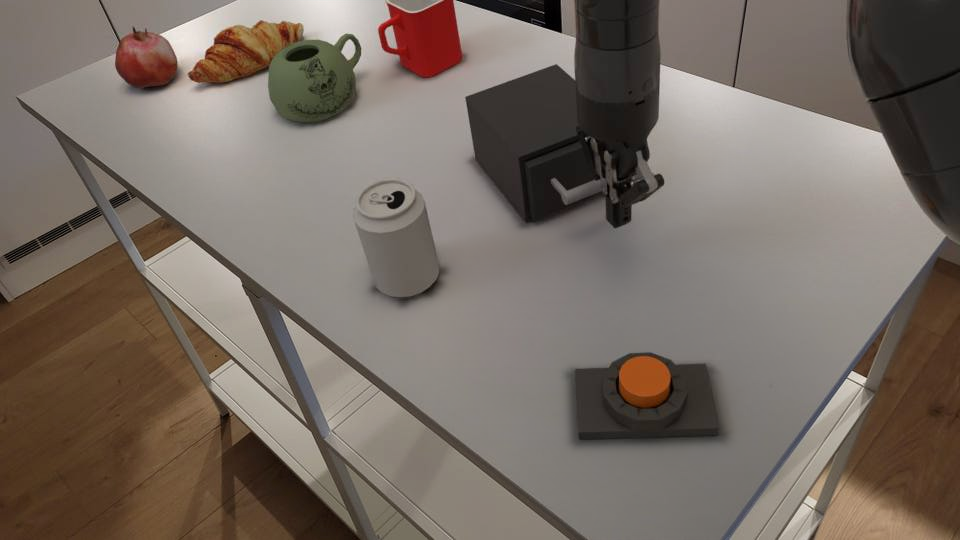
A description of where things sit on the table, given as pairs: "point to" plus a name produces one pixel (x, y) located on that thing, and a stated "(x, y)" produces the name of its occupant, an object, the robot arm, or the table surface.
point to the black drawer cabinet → (521, 127)
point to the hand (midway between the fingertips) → (618, 222)
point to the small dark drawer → (559, 180)
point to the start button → (644, 382)
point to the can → (396, 237)
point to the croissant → (244, 50)
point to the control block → (617, 418)
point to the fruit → (145, 59)
